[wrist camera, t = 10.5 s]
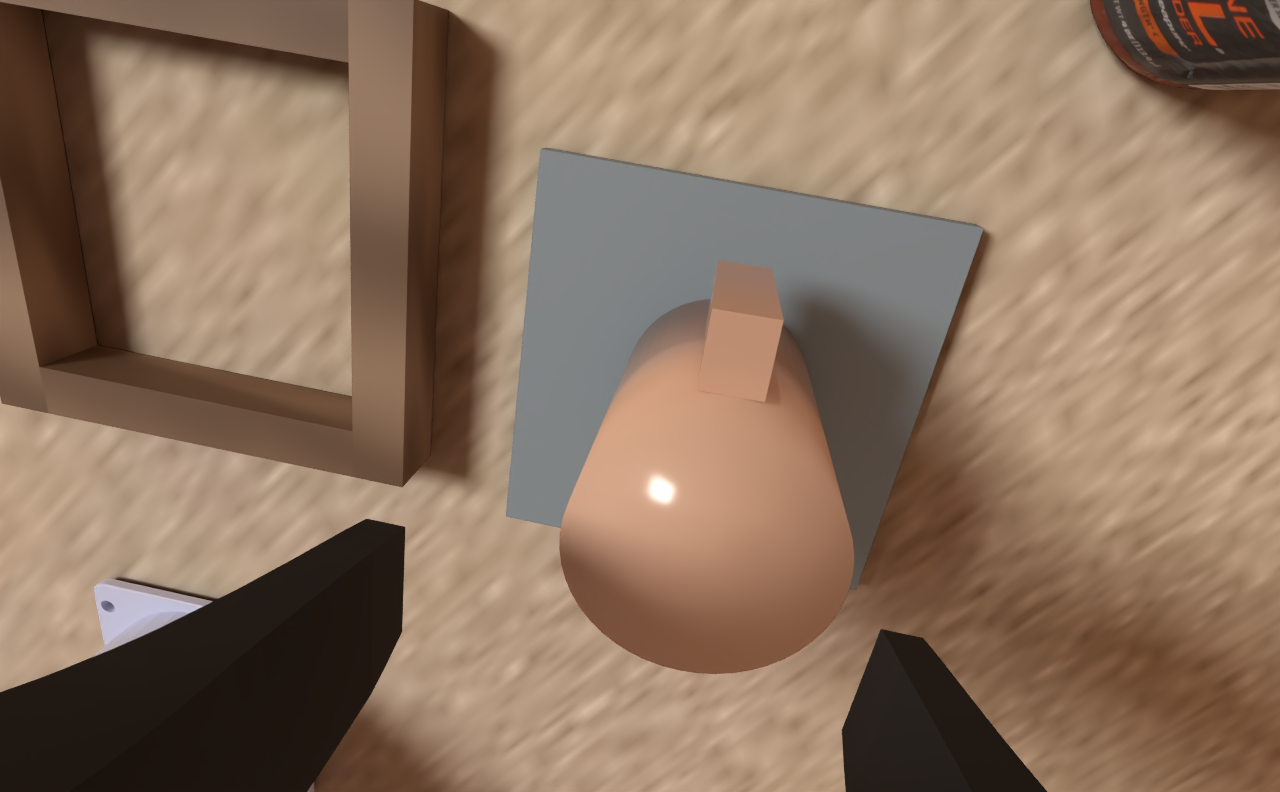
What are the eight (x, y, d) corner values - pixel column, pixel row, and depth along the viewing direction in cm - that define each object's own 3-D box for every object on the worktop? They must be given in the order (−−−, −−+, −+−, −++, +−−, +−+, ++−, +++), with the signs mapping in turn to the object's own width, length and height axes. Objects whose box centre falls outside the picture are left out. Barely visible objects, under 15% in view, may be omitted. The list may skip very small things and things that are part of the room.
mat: (853, 577, 22) (856, 589, 21) (511, 506, 22) (505, 516, 22) (976, 224, 17) (983, 228, 17) (546, 147, 18) (540, 149, 17)
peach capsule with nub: (785, 481, 20) (814, 697, 13) (616, 450, 20) (548, 644, 13) (842, 259, 17) (919, 369, 10) (647, 227, 18) (583, 312, 10)
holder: (430, 455, 22) (402, 487, 20) (61, 379, 23) (2, 403, 21) (448, 10, 17) (413, -1, 15) (-25, -70, 18) (-114, -90, 16)
